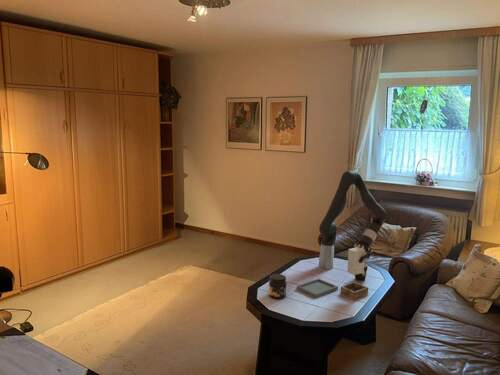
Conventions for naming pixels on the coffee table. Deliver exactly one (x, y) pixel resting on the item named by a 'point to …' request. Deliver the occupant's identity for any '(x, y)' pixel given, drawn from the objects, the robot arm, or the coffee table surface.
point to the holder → (349, 287)
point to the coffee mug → (362, 274)
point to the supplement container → (277, 286)
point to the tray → (317, 288)
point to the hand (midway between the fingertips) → (354, 260)
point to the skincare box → (355, 261)
